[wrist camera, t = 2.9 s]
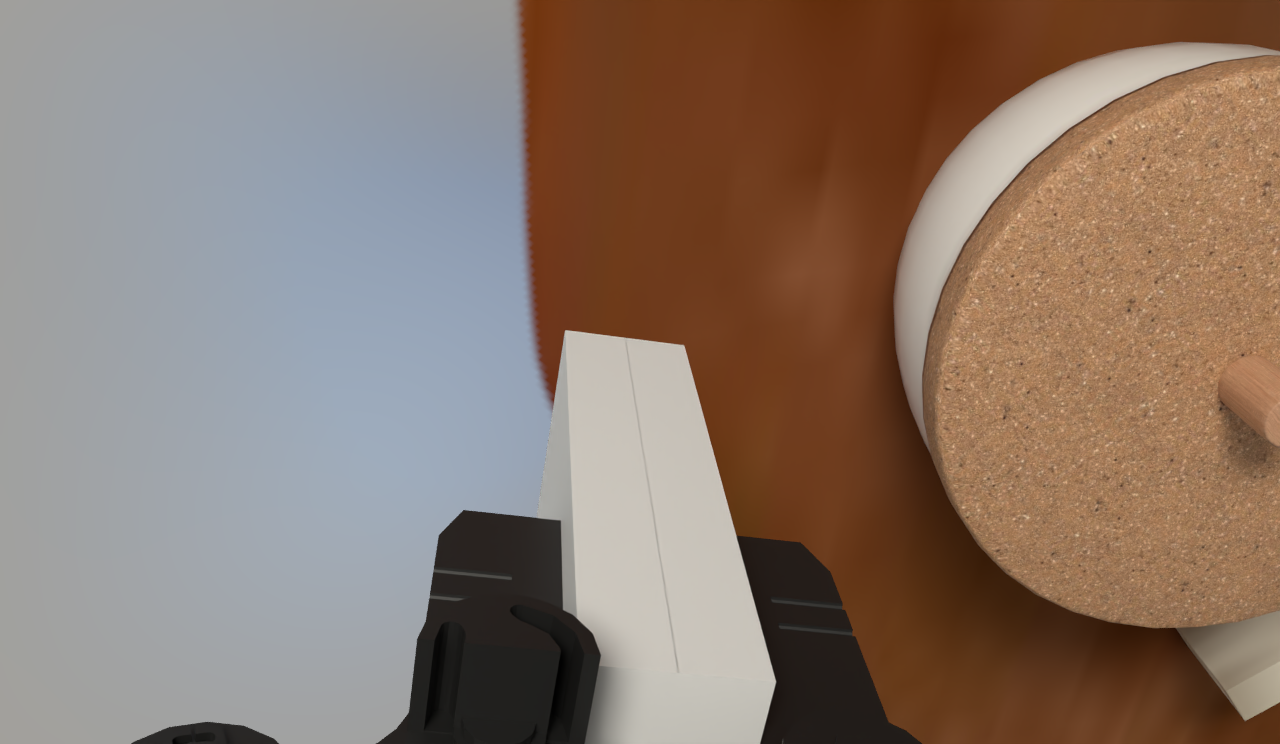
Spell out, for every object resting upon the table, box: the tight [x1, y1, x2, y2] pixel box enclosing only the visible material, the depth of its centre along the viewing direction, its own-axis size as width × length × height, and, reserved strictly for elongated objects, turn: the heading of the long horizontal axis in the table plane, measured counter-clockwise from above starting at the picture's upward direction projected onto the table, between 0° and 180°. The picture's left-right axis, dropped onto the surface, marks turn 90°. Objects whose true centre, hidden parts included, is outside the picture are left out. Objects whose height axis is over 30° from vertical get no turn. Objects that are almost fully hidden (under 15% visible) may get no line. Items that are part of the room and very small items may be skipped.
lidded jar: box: [894, 42, 1280, 628], centre depth 24 cm, size 11×11×9 cm
